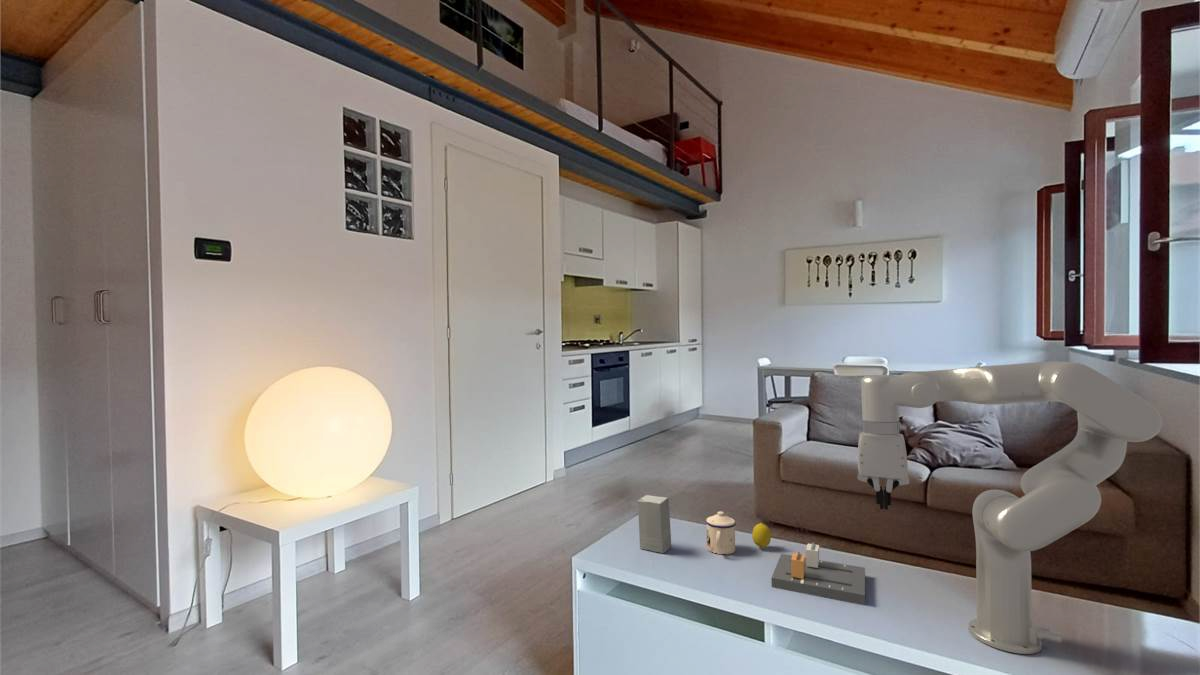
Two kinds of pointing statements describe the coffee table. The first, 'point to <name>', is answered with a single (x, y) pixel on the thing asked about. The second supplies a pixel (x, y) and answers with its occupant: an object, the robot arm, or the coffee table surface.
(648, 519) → the skincare box
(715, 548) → the teacup with lid
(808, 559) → the fader white
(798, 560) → the fader orange
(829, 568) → the console
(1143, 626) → the coffee table surface
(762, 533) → the lemon
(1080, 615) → the coffee table surface
